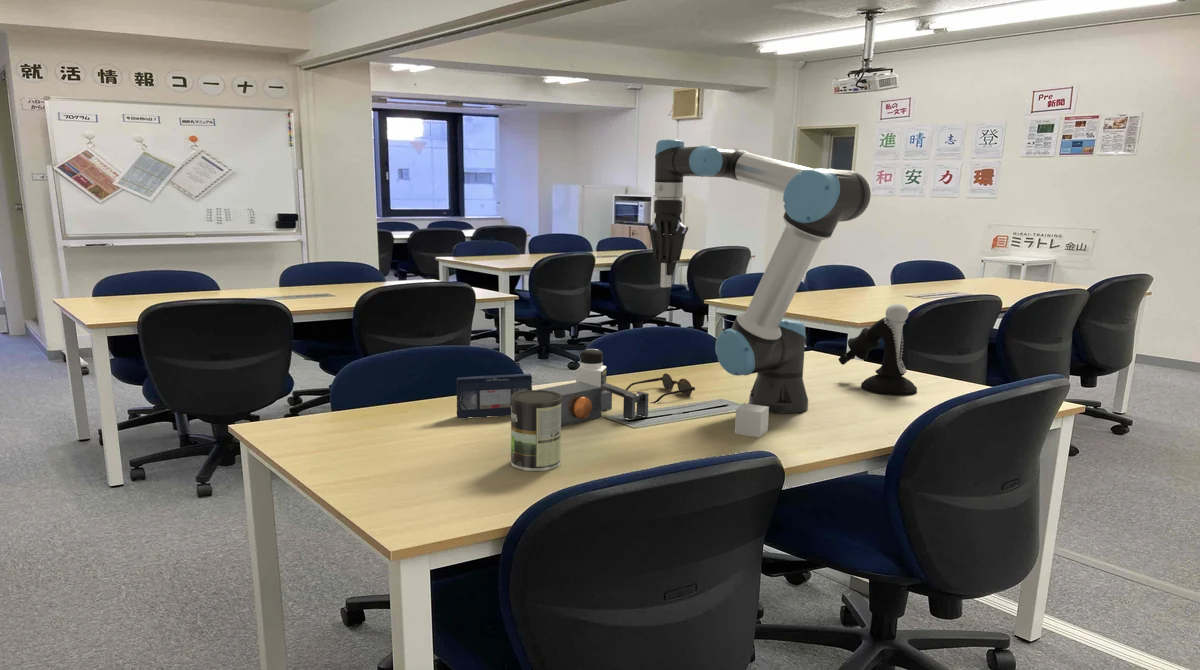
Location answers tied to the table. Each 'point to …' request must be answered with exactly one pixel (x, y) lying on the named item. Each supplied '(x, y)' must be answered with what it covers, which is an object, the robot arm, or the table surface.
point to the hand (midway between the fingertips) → (665, 286)
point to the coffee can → (535, 430)
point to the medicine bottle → (591, 368)
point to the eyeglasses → (670, 385)
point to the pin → (581, 407)
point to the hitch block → (573, 392)
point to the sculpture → (892, 367)
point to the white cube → (751, 420)
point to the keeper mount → (626, 404)
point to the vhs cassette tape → (489, 394)
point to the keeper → (621, 392)
